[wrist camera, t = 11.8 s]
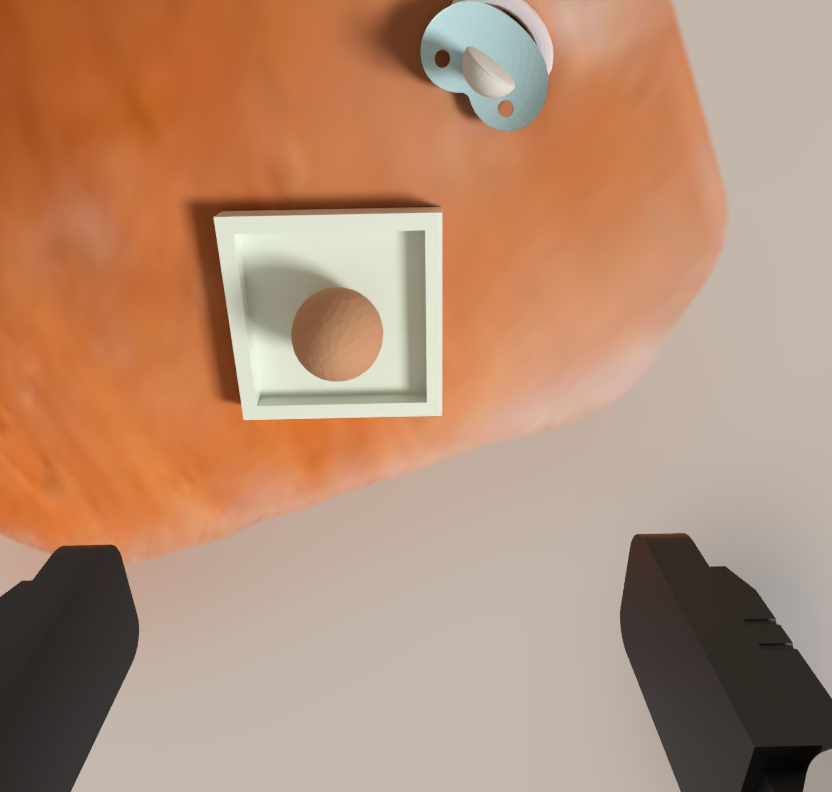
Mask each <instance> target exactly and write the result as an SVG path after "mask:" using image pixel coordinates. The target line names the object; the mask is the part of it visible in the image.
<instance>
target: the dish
mask: <svg viewBox="0 0 832 792" xmlns="http://www.w3.org/2000/svg"><path fill="white" fill-rule="evenodd" d="M213 218H214V224H215V231H216V238H217V244H218V251H219V258H220V264H221V271H222V278H223V285H224V291H225V298H226V305H227V311H228V318H229V325H230V331H231V338H232V345H233V352H234V358H235V365H236V372H237V378H238V385H239V392H240V398H241V405H242V412H243V419H244V420H263V419H310V418H356V417H402V416H442V210H441V207H406V208H355V209H304V210H253V211H222V212H220V213H219V214H217V215H216V216H214V217H213ZM336 287H344V288H348V289H352V290H355V291H357V292H359V293H361V294H362V295H363V296H365V297H366V298H368V299H369V300H370V302H371V303H372V304H373V305H374V306H375V308H376V309H377V311H378V313H379V315H380V318H381V321H382V325H383V341H382V347H381V350H380V352H379V355H378V357H377V359H376V360H375V362H374V363H373V364H372V366H371V367H370V368H369V369H368V370H367V371H366V372H364V373H363V374H361V375H360V376H358V377H356V378H354V379H351V380H347V381H336V382H331V381H327V380H323V379H320V378H318V377H316V376H314V375H313V374H311V373H310V372H309V371H307V370H306V369H305V368H304V367H303V366H302V364H301V363H300V362H299V360H298V359H297V357H296V355H295V353H294V349H293V345H292V340H291V330H292V325H293V320H294V318H295V315H296V313H297V311H298V309H299V308H300V307H301V305H302V304H303V302H304V301H305V300H306V299H307V298H309V297H310V296H311V295H313V294H314V293H316V292H318V291H320V290H323V289H326V288H336Z"/></svg>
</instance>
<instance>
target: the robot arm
mask: <svg viewBox="0 0 832 792" xmlns="http://www.w3.org/2000/svg"><path fill="white" fill-rule="evenodd" d="M620 624H621V633H622V639H623V643H624V647H625V650H626V653H627V655H628V658H629V661H630V663H631V666H632V668H633V670H634V673H635V676H636V678H637V681H638V683H639V686H640V688H641V691H642V693H643V696H644V699H645V701H646V704H647V706H648V709H649V711H650V714H651V717H652V719H653V722H654V724H655V726H656V729H657V732H658V734H659V737H660V739H661V742H662V745H663V747H664V750H665V752H666V755H667V757H668V760H669V762H670V765H671V767H672V770H673V773H674V775H675V777H676V780H677V783H678V785H679V788H680V790H681V792H832V699H831V697H830V696H829V694H828V693H827V691H826V690H825V688H824V687H823V686H822V684H821V683H820V681H819V680H818V678H817V677H816V676H815V674H814V673H813V672H812V670H811V668H810V667H809V666H808V664H807V663H806V661H805V660H804V658H803V657H802V656H801V654H800V653H799V651H798V650H797V649H794V648H793V645H792V644H793V643H792V641H791V640H790V638H789V637H788V636H787V634H786V633H785V631H784V630H783V629H782V627H781V626H780V625H777V624H776V619H775V617H774V616H773V614H772V613H771V611H770V610H769V609H768V607H767V606H766V604H765V603H764V601H763V600H762V598H761V597H760V596H759V594H758V593H757V591H756V590H755V589H754V588H752V587H751V586H750V585H748V584H747V583H746V582H745V581H743V580H742V579H741V578H739V577H738V576H737V575H735V574H734V573H733V572H731V571H730V570H729V569H728V568H727V567H725V566H721V567H709V565H708V564H707V562H706V561H705V559H704V558H703V556H702V554H701V553H700V551H699V550H698V548H697V547H696V545H695V543H694V542H693V540H692V539H691V538H690V537H689V536H688V535H687V534H685V533H674V534H637V535H635V536H634V537H633V539H632V542H631V546H630V552H629V559H628V565H627V571H626V577H625V583H624V590H623V596H622V603H621V610H620ZM138 637H139V622H138V617H137V613H136V609H135V605H134V601H133V598H132V594H131V590H130V587H129V583H128V580H127V576H126V572H125V568H124V564H123V561H122V557H121V554H120V552H119V550H118V549H117V547H115V546H114V545H79V546H62V547H59V548H58V549H57V550H56V551H55V552H54V553H53V554H52V555H51V557H50V558H49V559H48V561H47V562H46V563H45V565H44V566H43V567H42V569H41V570H40V571H39V572H38V574H37V575H36V576H35V578H34V579H33V580H32V581H21V582H20V583H19V584H17V585H16V586H15V587H13V588H12V589H10V590H9V591H8V592H6V593H5V594H4V595H2V596H1V597H0V792H71V790H72V788H73V786H74V784H75V782H76V779H77V777H78V775H79V773H80V771H81V769H82V767H83V765H84V763H85V761H86V758H87V756H88V754H89V752H90V750H91V748H92V746H93V744H94V742H95V739H96V737H97V735H98V733H99V731H100V729H101V727H102V725H103V723H104V721H105V719H106V717H107V714H108V712H109V710H110V708H111V706H112V704H113V702H114V700H115V697H116V696H117V693H118V691H119V689H120V687H121V685H122V683H123V681H124V679H125V677H126V675H127V673H128V670H129V668H130V666H131V664H132V662H133V660H134V657H135V654H136V650H137V645H138V639H139V638H138Z"/></svg>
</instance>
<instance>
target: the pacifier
mask: <svg viewBox="0 0 832 792" xmlns="http://www.w3.org/2000/svg"><path fill="white" fill-rule="evenodd" d="M490 5H491V6H490ZM492 6H496V7H498V8H501V9H503V10H505V11H507V12H509V13H510V14H511V15H513V16H514V17H516V18H517V19H518V20H519V21H520V22H521V23H522V24H523V25H524V26H525V28H526V29H527V31H528V32H529V34H530V35H531V37H530V35H529V34H528V33H527V32H526V31H525V30H524V29H523V28H522V27H521V26H520V25H519V24H518V23H517V22H516V21H514V20H513V19H512V18H511V17H509V16H508V15H506V14H505V13H503V12H502V11H500V10H498V9H496V8H494V7H492ZM439 50H445V51H447V52H448V54H449V56H450V62H449V64H448V65H447V66H446V67H444V68H441V67H438V66H437V65H436V63H435V55H436V53H437V52H438V51H439ZM420 54H421V62H422V65H423V68H424V71H425V73H426V74H427V76H428V77H429V78H430V80H431V81H432V82H433V83H434V84H436V85H437V86H439V87H440V88H442V89H444V90H447V91H450V92H455V93H460V92H462V93H465V94H466V95H467V96H468V97H469V99H470V102H471V105H472V107H473V109H474V111H475V113H476V114H477V115H478V116H479V118H480V119H481V120H482V121H483V122H484V123H485V124H487V125H489V126H490V127H492V128H494V129H497V130H500V131H514V130H519V129H521V128H523V127H525V126H527V125H528V124H530V123H531V122H532V121H533V120H534V119H535V118H536V117H537V115H538V114H539V112H540V111H541V110H542V107H543V105H544V103H545V100H546V96H547V90H548V75H549V73H550V71H551V69H552V64H553V56H554V54H553V47H552V41H551V39H550V36H549V33H548V31H547V28H546V26H545V25H544V23H543V22H542V20H541V19H540V17H539V16H538V14H537V13H536V12H535V11H534V10H533V9H532V8H531V7H530V6H529V5H528V4H527V3H526V2H525V1H523V0H453V2H452V5H450V6H449V7H447V8H445V9H443V10H442V11H441V12H439V13H438V14H437V15H436V16H435V17H434V18H433V19H432V20H431V22H430V23H429V25H428V27H427V28H426V30H425V33H424V35H423V38H422V43H421V51H420ZM504 100H507V101H509V102H510V103H511V104H512V106H513V111H512V114H511V115H510V116H508V117H502V116H501V115H500V114H499V113H498V105H499V103H500V102H502V101H504Z"/></svg>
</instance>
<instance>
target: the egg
mask: <svg viewBox="0 0 832 792" xmlns="http://www.w3.org/2000/svg"><path fill="white" fill-rule="evenodd" d="M291 340H292V345H293V349H294V353H295V355H296V357H297V359H298V360H299V362H300V363H301V364H302V366H303V367H304V368H305V369H306V370H307V371H309V372H310V373H311V374H313V375H314V376H316V377H318V378H320V379H323V380H327V381H331V382H336V381H347V380H351V379H354V378H356V377H358V376H360V375H361V374H363V373H364V372H366V371H367V370H368V369H369V368H370V367H371V366H372V364H373V363H374V362H375V360H376V359H377V357H378V355H379V352H380V350H381V347H382V341H383V325H382V321H381V318H380V315H379V313H378V311H377V309H376V308H375V306H374V305H373V304H372V303H371V302H370V300H369V299H368V298H366V297H365V296H363V295H362V294H361V293H359V292H357V291H355V290H352V289H348V288H344V287H336V288H326V289H323V290H320V291H318V292H316V293H314V294H313V295H311V296H310V297H309V298H307V299H306V300H305V301H304V302H303V304H302V305H301V307H300V308H299V309H298V311H297V313H296V315H295V318H294V320H293V325H292V330H291Z"/></svg>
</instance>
